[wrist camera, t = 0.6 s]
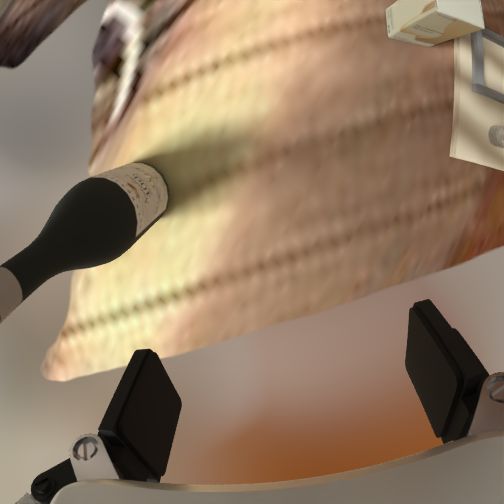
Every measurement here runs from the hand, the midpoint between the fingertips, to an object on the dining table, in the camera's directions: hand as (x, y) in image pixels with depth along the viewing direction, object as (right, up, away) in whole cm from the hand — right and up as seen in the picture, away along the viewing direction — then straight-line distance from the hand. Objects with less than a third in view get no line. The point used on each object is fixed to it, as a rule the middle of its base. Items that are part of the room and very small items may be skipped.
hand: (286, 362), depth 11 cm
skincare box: (+18, +32, +18) cm, 40 cm away
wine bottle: (-15, +11, +27) cm, 33 cm away
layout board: (+32, +25, +19) cm, 45 cm away
